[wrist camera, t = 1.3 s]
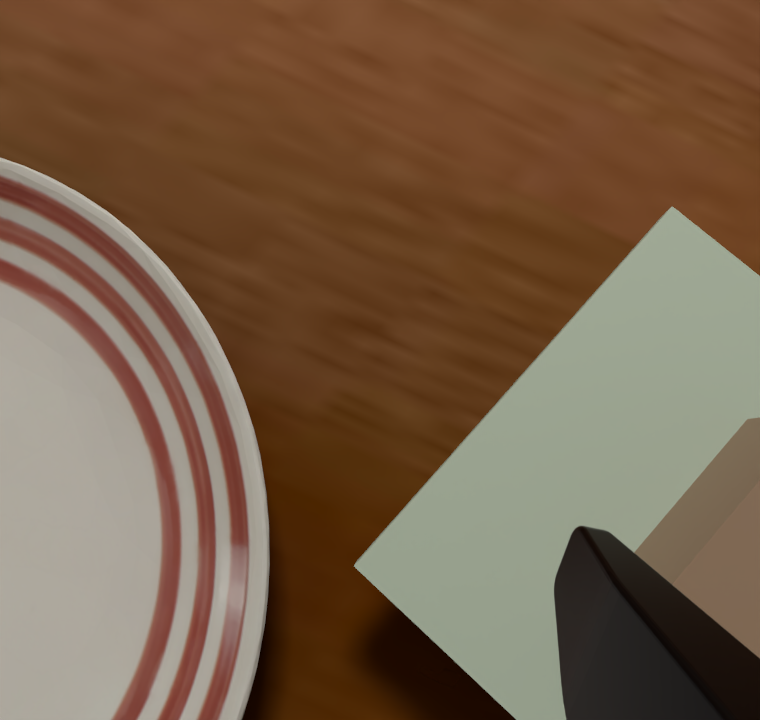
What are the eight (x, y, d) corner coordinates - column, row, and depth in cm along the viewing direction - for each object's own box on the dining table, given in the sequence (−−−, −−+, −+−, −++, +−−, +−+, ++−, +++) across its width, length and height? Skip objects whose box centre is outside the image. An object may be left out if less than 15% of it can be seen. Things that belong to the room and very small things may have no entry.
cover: (1055, 530, 20) (1230, 549, 16) (741, 926, 19) (837, 1061, 15) (662, 215, 22) (724, 155, 17) (356, 561, 21) (341, 588, 16)
